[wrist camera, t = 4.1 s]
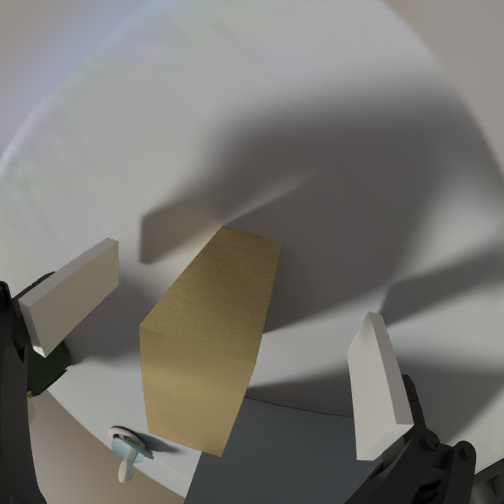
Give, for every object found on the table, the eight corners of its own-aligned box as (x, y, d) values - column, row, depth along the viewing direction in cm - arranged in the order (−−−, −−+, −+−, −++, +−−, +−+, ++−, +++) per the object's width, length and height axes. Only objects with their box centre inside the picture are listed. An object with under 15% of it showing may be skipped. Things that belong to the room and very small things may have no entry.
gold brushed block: (282, 242, 14) (255, 364, 6) (254, 335, 16) (220, 456, 9) (221, 226, 14) (138, 325, 6) (205, 321, 16) (148, 432, 9)
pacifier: (104, 429, 28) (140, 454, 28) (82, 461, 22) (122, 488, 23) (121, 419, 25) (163, 448, 26) (96, 459, 19) (144, 489, 20)
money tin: (402, 421, 18) (416, 537, 8) (326, 485, 24) (319, 560, 14) (222, 390, 19) (175, 527, 9) (203, 463, 25) (176, 540, 15)
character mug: (69, 384, 24) (11, 463, 12) (26, 342, 23) (-38, 411, 11) (85, 340, 20) (-5, 450, 8) (30, 285, 19) (-69, 369, 7)
